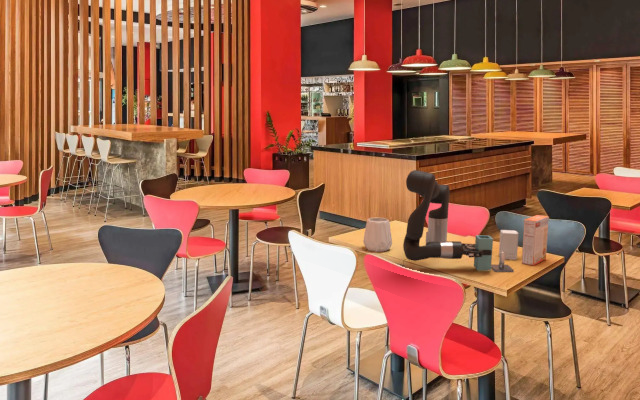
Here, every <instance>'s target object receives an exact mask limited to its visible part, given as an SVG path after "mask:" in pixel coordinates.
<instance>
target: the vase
mask: <svg viewBox="0 0 640 400" xmlns="http://www.w3.org/2000/svg"><path fill="white" fill-rule="evenodd" d="M364 229H365V230H364V234H363V245H364V248H365V249H367V251H369V252H373V253H374V252H375V253H378V252H379V253H382V252H384V253H385V252H387V251H388V250H390V249H391V247H392V244H393V238H392V237H393V236H392V231H391V230H392V229H391V223H390V220H389V219H388V218H386V217H369V218H367V220H366V224H365V228H364Z"/></svg>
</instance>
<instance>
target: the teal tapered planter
mask: <svg viewBox="0 0 640 400" xmlns="http://www.w3.org/2000/svg"><path fill="white" fill-rule="evenodd" d="M474 239H475V241H474V242H475V243H474V244H475V248H477V249H479V250H491V251H492V252H493V248H494V247H493V244H494V238H493V237H492V236H490V235H479V234H477V235H475V238H474ZM477 254H479V253H477ZM492 259H493V253H492V254H491V255H483V256H482V257H473V268H474V269H475V270H476V271H491V270H492V269H491V264H492Z"/></svg>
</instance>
